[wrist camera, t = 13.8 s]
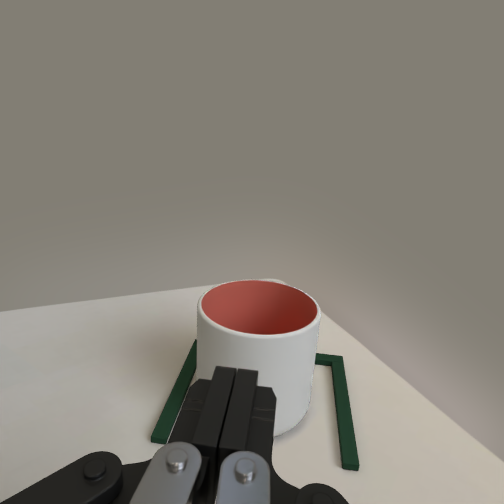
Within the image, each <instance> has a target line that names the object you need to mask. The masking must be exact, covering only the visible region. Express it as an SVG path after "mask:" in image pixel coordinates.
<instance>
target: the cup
mask: <svg viewBox="0 0 504 504" xmlns="http://www.w3.org/2000/svg"><path fill="white" fill-rule="evenodd" d="M320 317H321V310H320V307H319V305H318V303H317V302H316V301H315V300H314V299H313V298H312V297H311V296H310V295H308V294H307V293H305V292H303V291H302V290H300V289H298V288H295V287H292V286H290V285H286V284H283V283H279V282H273V281H266V280H238V281H232V282H226V283H223V284H220V285H217V286H214V287H212V288H211V289H209V290H207V291H206V292H205V293H204V294H203V295H202V296H201V297H200V299H199V301H198V305H197V377H196V381H197V380H198V379H199V378H200V379H208V380H211V379H212V376H213V373H214V370H215V367H216V366H224V367H232V368H237V370H238V368H241V369H249V370H257V371H258V385H257V386H264V387H272V389H273V392H274V394H275V396H276V398H277V401H276V412H275V424H274V435H273V437H274V436H278V435H280V434H283V433H285V432H287V431H289V430H290V429H292V428H293V427H295V426H296V425H297V424H298V423H299V422H300V421H301V420H302V418H303V417H304V415H305V414H306V412H307V409H308V407H309V403H310V395H311V388H312V380H313V372H314V364H315V357H316V349H317V341H318V333H319V325H320Z"/></svg>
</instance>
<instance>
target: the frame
mask: <svg viewBox="0 0 504 504" xmlns="http://www.w3.org/2000/svg"><path fill="white" fill-rule="evenodd" d="M315 364H320V365H328V366H331V368H332V377H333V386H334V396H335V405H336V414H337V424H338V433H339V442H340V451H341V461H342V468H343V469H349V470H356V471H358V469H359V460H358V453H357V447H356V441H355V434H354V428H353V421H352V415H351V408H350V402H349V396H348V389H347V383H346V376H345V370H344V363H343V357H342V356H336V355H328V354H319V353H316V357H315ZM196 368H197V340H196V339H195V341H194V343H193V346H192V348H191V350H190V352H189V354H188V357H187V359H186V361H185V363H184V365H183V368H182V370H181V372H180V374H179V376H178V378H177V381H176V383H175V385H174V387H173V389H172V392H171V394H170V396H169V398H168V400H167V402H166V405H165V407H164V409H163V411H162V413H161V416H160V418H159V420H158V422H157V424H156V427H155V429H154V431H153V433H152V435H151V442H154V443H161V444H166V442H167V439H168V437H169V434H170V432H171V429H172V427H173V424H174V422H175V420H176V417H177V415H178V412H179V410H180V407H181V405H182V402H183V400H184V397H185V395H186V392H187V390H188V387H189V385H190V382H191V380H192V378H193V375H194V373H195V370H196Z"/></svg>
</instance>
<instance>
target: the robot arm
mask: <svg viewBox="0 0 504 504" xmlns="http://www.w3.org/2000/svg"><path fill="white" fill-rule="evenodd" d="M257 385H258V371H257V370H249V369H241V368H238V370H237V368H232V367H224V366H216V367H215V370H214V373H213V376H212V379H211V380H208V379H200V378H199V379H198V380H197V381H196V382H195V383H194V384H193V385H192V386H191V387H190V388H189V390H188V393H187V395H186V398H185V401H184V403H183V406H182V409H181V411H180V413H179V416H178V418H177V421H176V423H175V426H174V428H173V431H172V433H171V436H170V438H169V441H168V443H167V444H166V445H164V446H163V447H161V448H160V449H159V450H158V451H157V452H156V453H155V455H154V456H153V458H152V459H150V460H147V461H144V462H140V463H133V464H126V465H122V463H121V460H120V459H119V458H118V457H117V456H116V455H115V454H113V453H110V452H105V451H100V452H94V453H90V454H88V455H86V456H84V457H82V458H80V459H78V460H76V461H75V462H73V463H71V464H69V465H67V466H66V467H64V468H62V469H60V470H58V471H57V472H55V473H53V474H51V475H49V476H48V477H46V478H44V479H42V480H40V481H39V482H37V483H35V484H33V485H32V486H30V487H28V488H26V489H24V490H23V491H21V492H19V493H17V494H15V495H14V496H12V497H10V498H8V499H6V500H5V501H3V502H1V503H0V504H215V500H216V504H349V503H348V502H347V501H346V500H345V499H344V497H343V496H342V495H341V494H340V493H339V492H338V491H336V490H335V489H334V488H332V487H330V486H327V485H325V484H319V483H312V484H308V485H306V486H304V487H302V488H301V489H298V488H296V487H294V486H292V485H290V484H288V483H286V482H285V481H284V480H282V479H281V478H280V477H279V476H278V475H277V473H276V472H275V470H274V468H273V466H272V446H273V435H274V424H275V412H276V401H277V398H276V396H275V394H274V392H273V389H272V387H264V386H257ZM216 496H217V498H216Z"/></svg>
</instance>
